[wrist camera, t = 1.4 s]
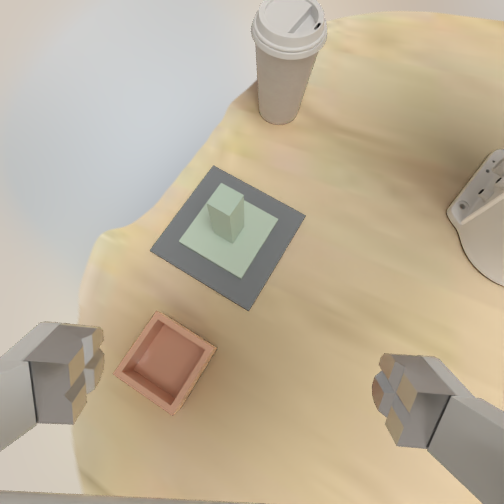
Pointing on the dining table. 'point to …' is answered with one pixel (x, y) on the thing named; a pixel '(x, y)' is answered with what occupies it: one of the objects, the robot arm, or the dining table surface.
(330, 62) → the dining table surface
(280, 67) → the coffee cup
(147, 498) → the robot arm
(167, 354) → the open box
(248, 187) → the mat
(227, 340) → the dining table surface
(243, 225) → the lid
